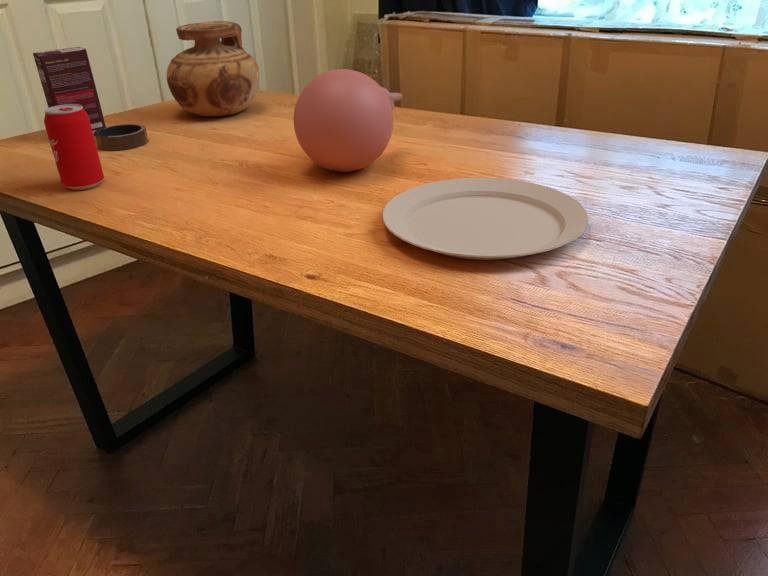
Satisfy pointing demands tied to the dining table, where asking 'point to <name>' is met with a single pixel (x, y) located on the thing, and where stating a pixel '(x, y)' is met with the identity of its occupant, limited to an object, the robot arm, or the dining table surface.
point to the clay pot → (213, 70)
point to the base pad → (120, 137)
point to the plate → (485, 218)
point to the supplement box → (70, 81)
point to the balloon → (344, 119)
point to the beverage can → (73, 146)
